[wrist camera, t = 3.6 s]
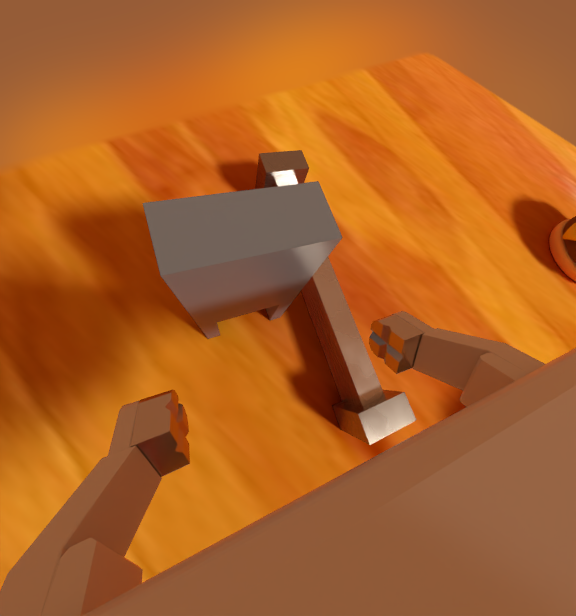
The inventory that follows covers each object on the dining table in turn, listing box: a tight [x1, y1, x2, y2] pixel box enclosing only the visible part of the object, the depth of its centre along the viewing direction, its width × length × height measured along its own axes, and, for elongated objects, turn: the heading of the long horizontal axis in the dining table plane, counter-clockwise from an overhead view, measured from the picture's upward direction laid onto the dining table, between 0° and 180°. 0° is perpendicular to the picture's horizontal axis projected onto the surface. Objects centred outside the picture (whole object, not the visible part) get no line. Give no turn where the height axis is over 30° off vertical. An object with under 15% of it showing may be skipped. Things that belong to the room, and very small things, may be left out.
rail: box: [255, 150, 416, 445], centre depth 20 cm, size 24×4×4 cm, turn 19°
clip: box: [143, 181, 342, 339], centre depth 14 cm, size 6×3×13 cm, turn 109°
